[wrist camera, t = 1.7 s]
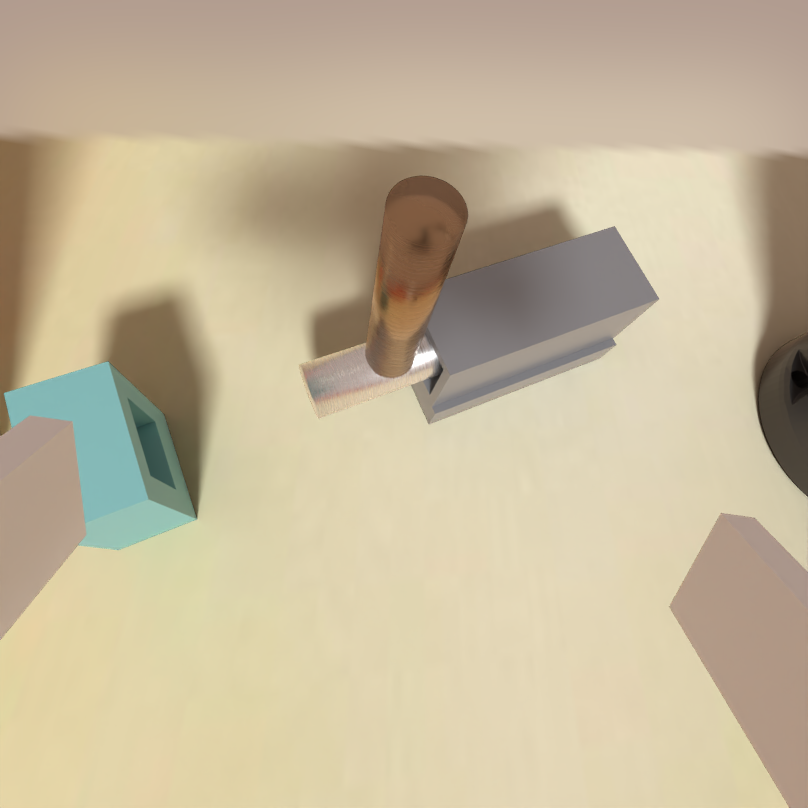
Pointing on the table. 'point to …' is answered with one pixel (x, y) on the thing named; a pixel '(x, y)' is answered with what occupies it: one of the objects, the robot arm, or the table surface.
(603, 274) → the outer sleeve
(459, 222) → the sliding bolt
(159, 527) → the end socket
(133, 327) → the table surface
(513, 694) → the table surface
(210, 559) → the table surface
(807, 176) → the table surface
